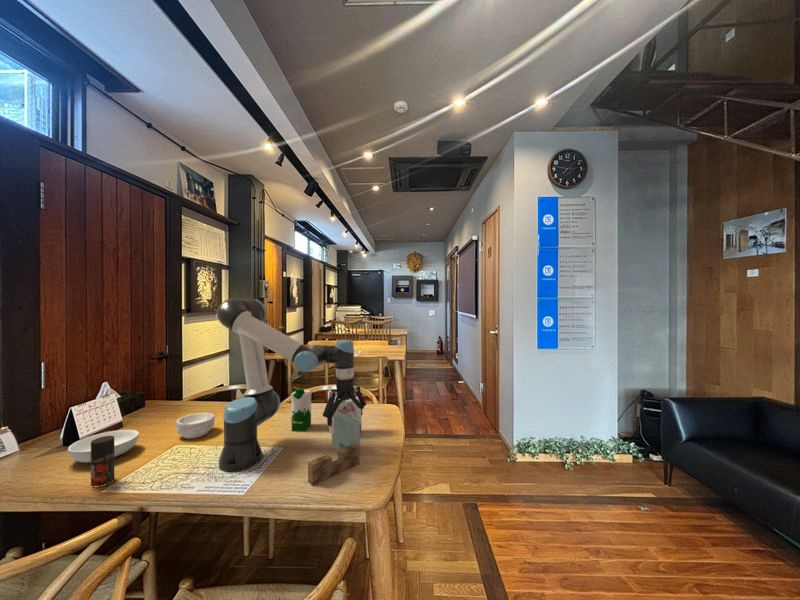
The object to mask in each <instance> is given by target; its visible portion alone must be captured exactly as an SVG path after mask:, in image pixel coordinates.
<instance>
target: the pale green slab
mask: <svg viewBox="0 0 800 600" xmlns="http://www.w3.org/2000/svg"><path fill="white" fill-rule="evenodd" d="M333 417H334V434H332V435H331V446H332V447H333V448H335V450H337V451H338V450H339V449H342V448H344V447H347V446H349V445H352V444H354V443H356V444H357V445H359V446H360V447H361V434H360V422H359V421H357V420H355V419H352V418H350V417H348V416H346V415H344V414H341V413H339V412H336V413H334V415H333Z"/></svg>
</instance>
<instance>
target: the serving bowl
mask: <svg viewBox="0 0 800 600" xmlns="http://www.w3.org/2000/svg"><path fill="white" fill-rule="evenodd" d="M104 436H114V458H116V457H118V456H120V455H123V454H124V453H127V452H128V451H129V450H131V449H132V448H133V447H134V446H135V445H136V443H137V442H138V439H139V436H140V432H139V431H138V430H135V429H119V430H118V429H117V430H112V431H105V432H102V433H97V434H93V435H90V436H87V437H84V438H82V439H79V440H77V441H75V442H73V443H72V444H70V445H69V446H68V449H67V452H68V454H69V457H70V458H71V459H72V460H73V461H75V462H78V463H91V441H93V440H94V439H97V438H100V437H104Z"/></svg>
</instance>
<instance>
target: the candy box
mask: <svg viewBox="0 0 800 600" xmlns="http://www.w3.org/2000/svg"><path fill="white" fill-rule="evenodd" d="M355 397H356V399H357V400H358V401H359V399H358V397H357V396H355ZM339 400H340V399H339ZM334 402H335V400H334ZM359 402H360V401H359ZM356 408H358V406H357V405H356V404H355V403H354V402H353V401H352V400H351V399H349V400H345V401H342V403H340V405H339V406H338V408H337V410H336V412H339V413H341V414H344V415H346V416H348V417H350V418H352V419H355V420H356ZM336 412H335V413H336ZM330 434H331V433H330ZM360 435H362V423H361V424H360ZM331 436H332V434H331Z"/></svg>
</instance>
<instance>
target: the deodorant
mask: <svg viewBox="0 0 800 600" xmlns="http://www.w3.org/2000/svg"><path fill="white" fill-rule="evenodd" d="M112 480H114V481H115V457H114V436H104V437H100V438H97V439H94V440H93V441H91V462H90V487H91V486H93V487H94V486H101V485H104V484H107V483H109V482H111V481H112ZM111 483H112V482H111ZM107 485H108V484H107ZM93 487H92V488H93Z"/></svg>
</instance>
